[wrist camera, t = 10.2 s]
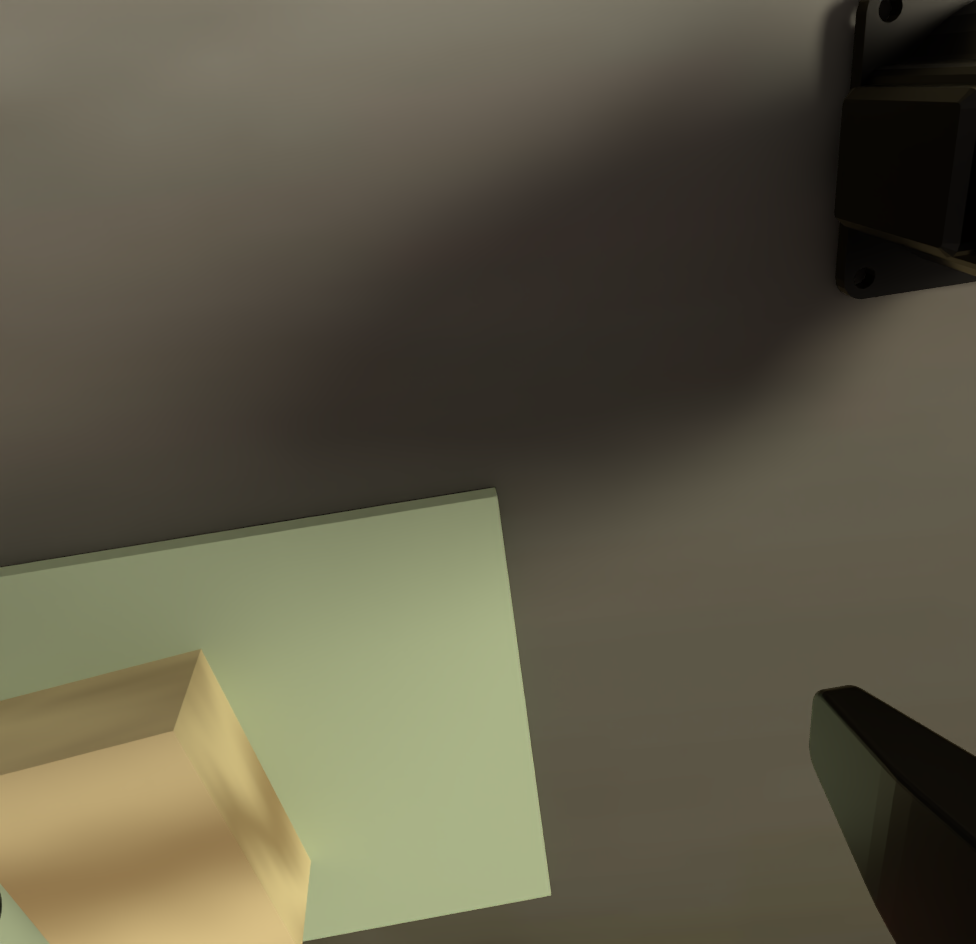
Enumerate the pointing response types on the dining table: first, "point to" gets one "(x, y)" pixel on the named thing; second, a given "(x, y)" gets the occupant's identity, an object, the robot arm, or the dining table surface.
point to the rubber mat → (329, 690)
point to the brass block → (144, 814)
